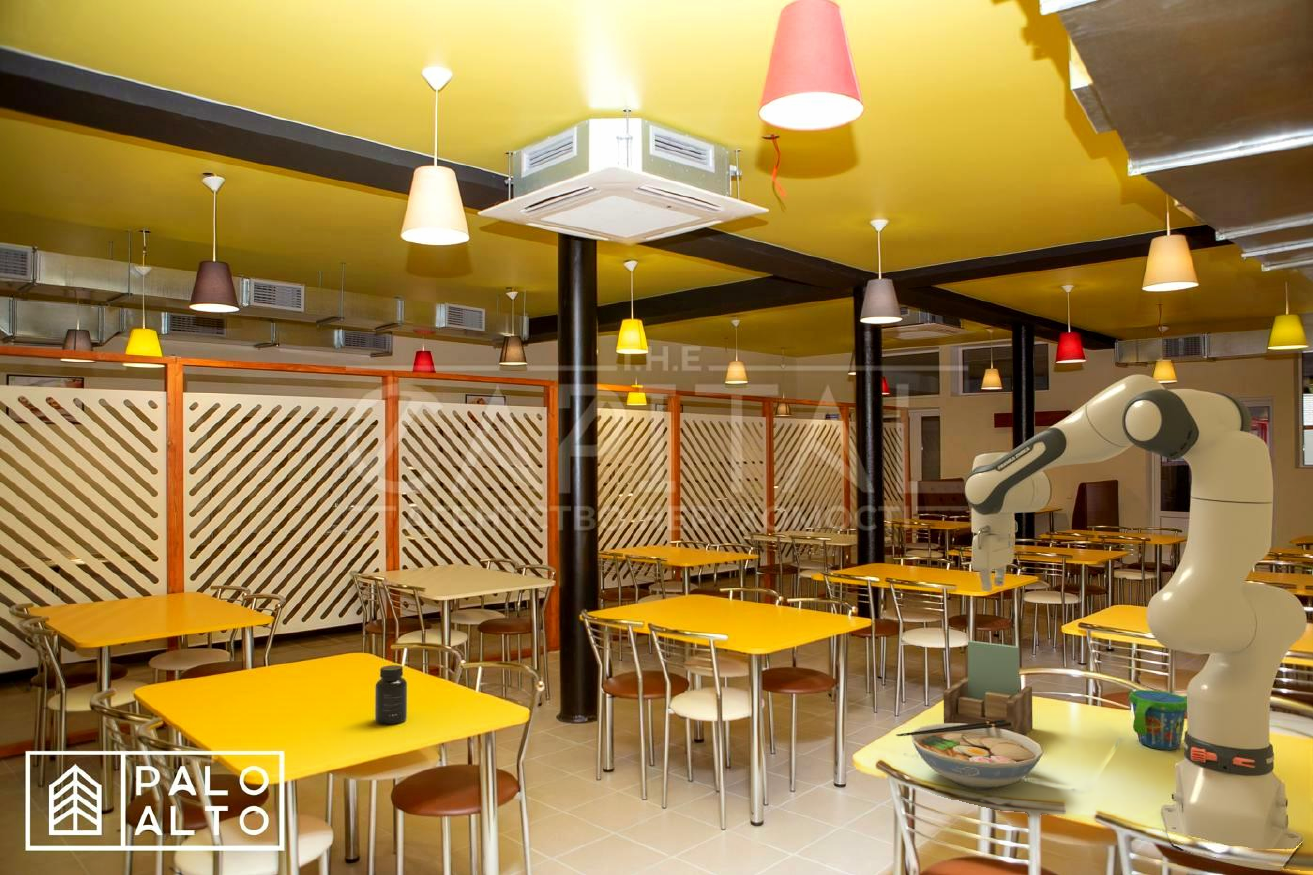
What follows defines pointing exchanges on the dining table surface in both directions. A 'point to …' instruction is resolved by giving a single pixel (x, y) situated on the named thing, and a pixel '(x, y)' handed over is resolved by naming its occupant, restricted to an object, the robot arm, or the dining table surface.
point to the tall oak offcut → (996, 705)
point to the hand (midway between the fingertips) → (993, 588)
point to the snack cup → (1158, 718)
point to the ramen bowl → (976, 752)
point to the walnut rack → (1016, 709)
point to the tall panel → (992, 669)
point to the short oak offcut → (971, 706)
